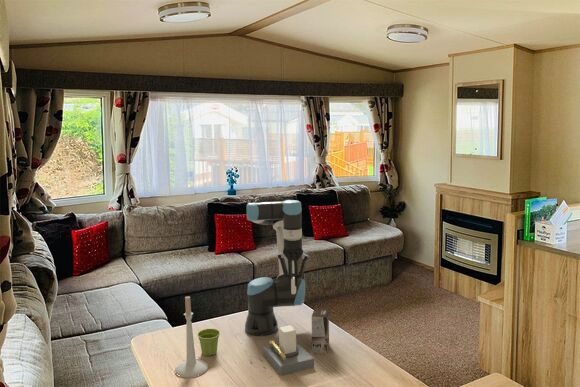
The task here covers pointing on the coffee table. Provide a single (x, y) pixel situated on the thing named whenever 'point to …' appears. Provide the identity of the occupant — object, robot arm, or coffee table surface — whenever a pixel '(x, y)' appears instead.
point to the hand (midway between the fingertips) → (293, 292)
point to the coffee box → (320, 330)
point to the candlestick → (190, 350)
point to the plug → (288, 341)
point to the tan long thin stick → (277, 349)
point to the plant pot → (208, 341)
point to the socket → (288, 360)
